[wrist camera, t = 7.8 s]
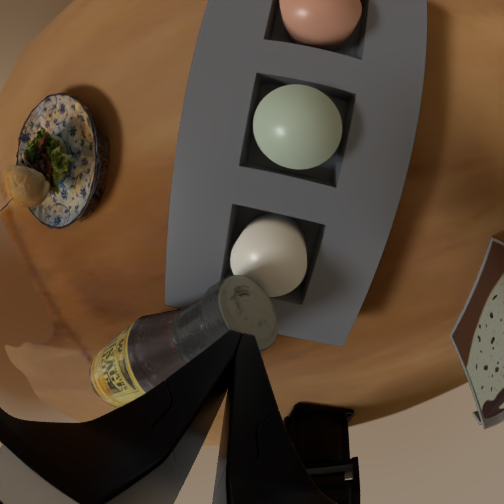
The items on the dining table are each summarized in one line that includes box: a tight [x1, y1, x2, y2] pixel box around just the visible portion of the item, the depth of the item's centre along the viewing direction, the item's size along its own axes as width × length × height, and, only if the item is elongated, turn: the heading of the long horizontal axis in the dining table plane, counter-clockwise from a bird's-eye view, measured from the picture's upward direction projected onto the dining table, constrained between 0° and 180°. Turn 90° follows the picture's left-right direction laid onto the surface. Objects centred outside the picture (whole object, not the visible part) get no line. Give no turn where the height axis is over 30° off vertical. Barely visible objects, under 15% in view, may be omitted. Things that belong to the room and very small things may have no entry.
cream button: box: [230, 212, 307, 297], centre depth 16 cm, size 4×4×3 cm
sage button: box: [253, 84, 342, 169], centre depth 13 cm, size 4×4×3 cm
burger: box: [1, 93, 110, 229], centre depth 15 cm, size 12×12×8 cm
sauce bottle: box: [89, 275, 278, 407], centre depth 18 cm, size 6×6×20 cm
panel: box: [165, 0, 427, 347], centre depth 14 cm, size 12×24×3 cm, turn 170°
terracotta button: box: [279, 0, 362, 51], centre depth 10 cm, size 4×4×3 cm
